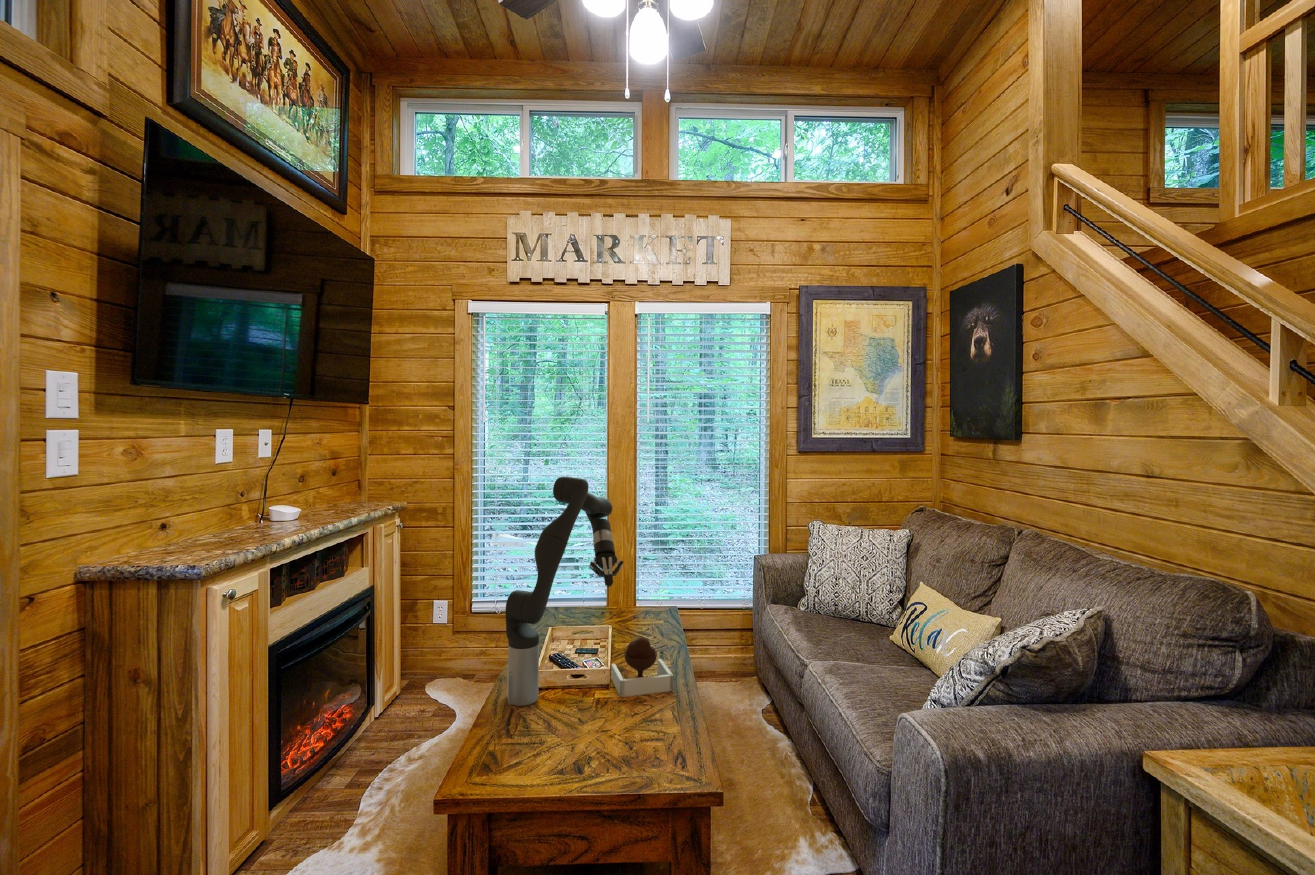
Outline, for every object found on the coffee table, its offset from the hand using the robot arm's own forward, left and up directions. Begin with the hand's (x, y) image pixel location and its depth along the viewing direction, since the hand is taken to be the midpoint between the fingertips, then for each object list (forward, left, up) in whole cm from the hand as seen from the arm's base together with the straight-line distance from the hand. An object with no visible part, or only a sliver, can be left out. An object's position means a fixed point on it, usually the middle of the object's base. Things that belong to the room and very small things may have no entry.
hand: (609, 585), depth 209 cm
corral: (+7, -20, -27) cm, 35 cm away
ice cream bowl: (+7, -18, -28) cm, 34 cm away
